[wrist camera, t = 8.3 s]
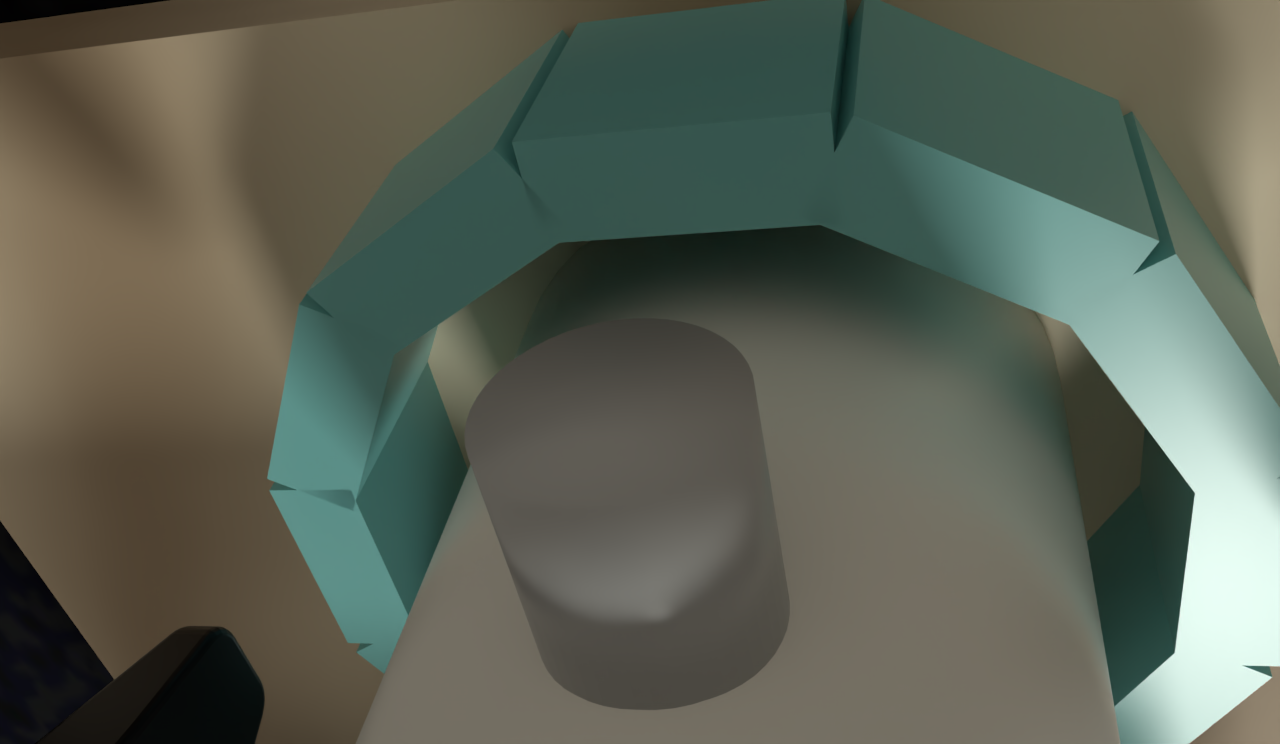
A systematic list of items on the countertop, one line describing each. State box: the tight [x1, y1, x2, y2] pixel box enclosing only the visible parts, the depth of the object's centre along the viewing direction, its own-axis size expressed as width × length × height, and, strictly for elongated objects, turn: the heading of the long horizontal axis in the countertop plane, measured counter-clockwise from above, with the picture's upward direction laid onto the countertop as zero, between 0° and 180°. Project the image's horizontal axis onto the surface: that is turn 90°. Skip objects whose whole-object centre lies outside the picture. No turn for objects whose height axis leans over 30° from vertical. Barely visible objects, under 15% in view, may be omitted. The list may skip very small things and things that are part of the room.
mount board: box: [0, 0, 1280, 744], centre depth 15 cm, size 18×17×1 cm
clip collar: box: [267, 0, 1280, 744], centre depth 11 cm, size 8×8×2 cm
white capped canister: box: [356, 225, 1120, 744], centre depth 8 cm, size 5×7×7 cm
